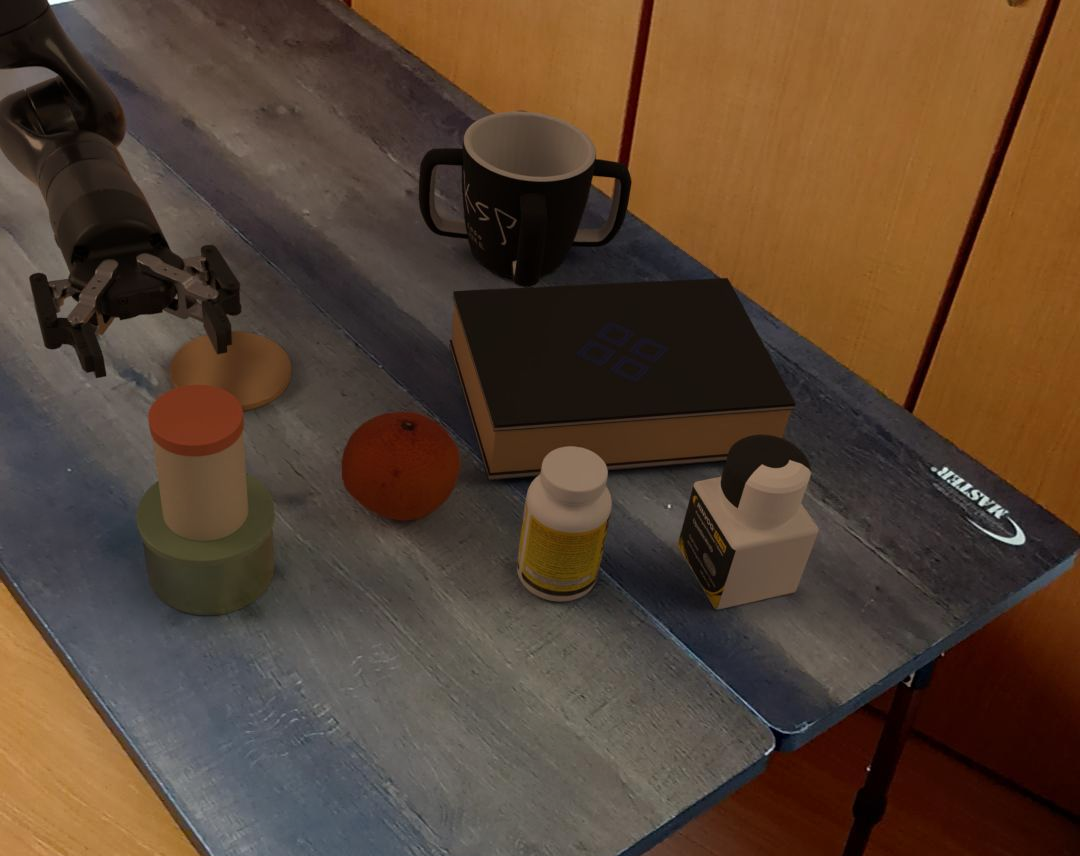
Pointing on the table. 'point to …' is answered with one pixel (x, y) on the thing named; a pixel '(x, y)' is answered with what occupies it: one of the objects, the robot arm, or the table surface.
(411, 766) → the table surface
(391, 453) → the fruit
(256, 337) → the coaster
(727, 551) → the medicine bottle
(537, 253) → the mug
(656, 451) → the book
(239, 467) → the canister
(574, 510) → the pill bottle
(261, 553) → the tin
